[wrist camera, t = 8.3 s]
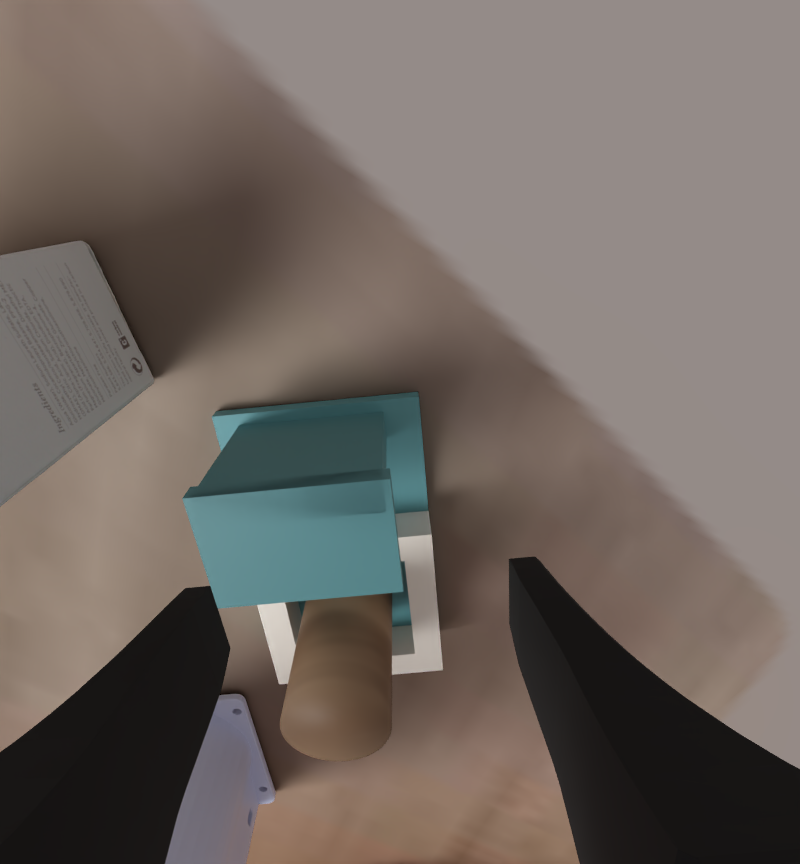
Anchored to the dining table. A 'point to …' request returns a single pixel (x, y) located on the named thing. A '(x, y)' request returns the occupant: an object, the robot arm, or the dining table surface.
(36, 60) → the dining table surface
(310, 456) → the station
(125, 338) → the skincare box
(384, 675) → the peg
